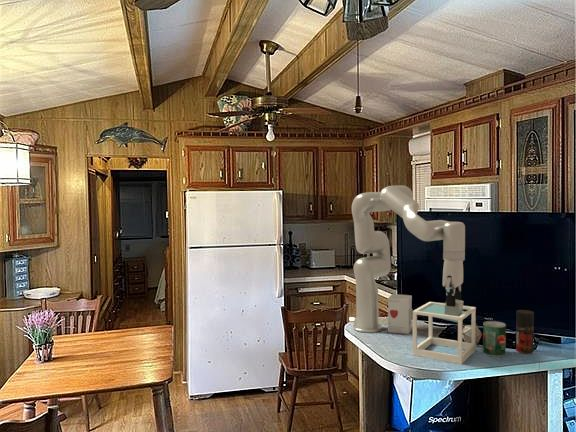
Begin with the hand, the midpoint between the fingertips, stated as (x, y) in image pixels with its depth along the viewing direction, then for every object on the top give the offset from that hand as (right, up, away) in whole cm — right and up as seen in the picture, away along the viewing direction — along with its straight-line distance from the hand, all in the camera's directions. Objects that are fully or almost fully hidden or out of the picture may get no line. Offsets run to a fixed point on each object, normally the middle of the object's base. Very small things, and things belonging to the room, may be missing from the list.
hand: (453, 303), depth 188 cm
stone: (0, -4, 0) cm, 4 cm away
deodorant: (+28, -19, +3) cm, 33 cm away
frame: (-2, -19, +3) cm, 19 cm away
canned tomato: (+16, -19, +2) cm, 25 cm away
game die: (+11, -18, +13) cm, 25 cm away
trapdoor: (-3, -4, +2) cm, 6 cm away
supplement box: (-13, -17, +33) cm, 39 cm away
